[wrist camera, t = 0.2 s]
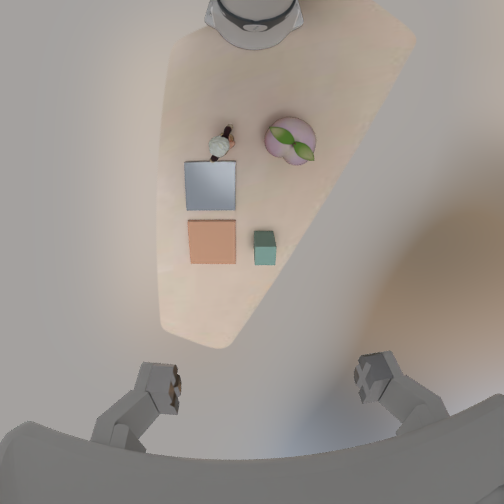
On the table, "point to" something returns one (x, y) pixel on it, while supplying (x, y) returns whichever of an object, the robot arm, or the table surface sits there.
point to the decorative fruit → (291, 140)
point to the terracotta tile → (212, 241)
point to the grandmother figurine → (221, 144)
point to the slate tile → (210, 185)
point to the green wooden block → (264, 248)
